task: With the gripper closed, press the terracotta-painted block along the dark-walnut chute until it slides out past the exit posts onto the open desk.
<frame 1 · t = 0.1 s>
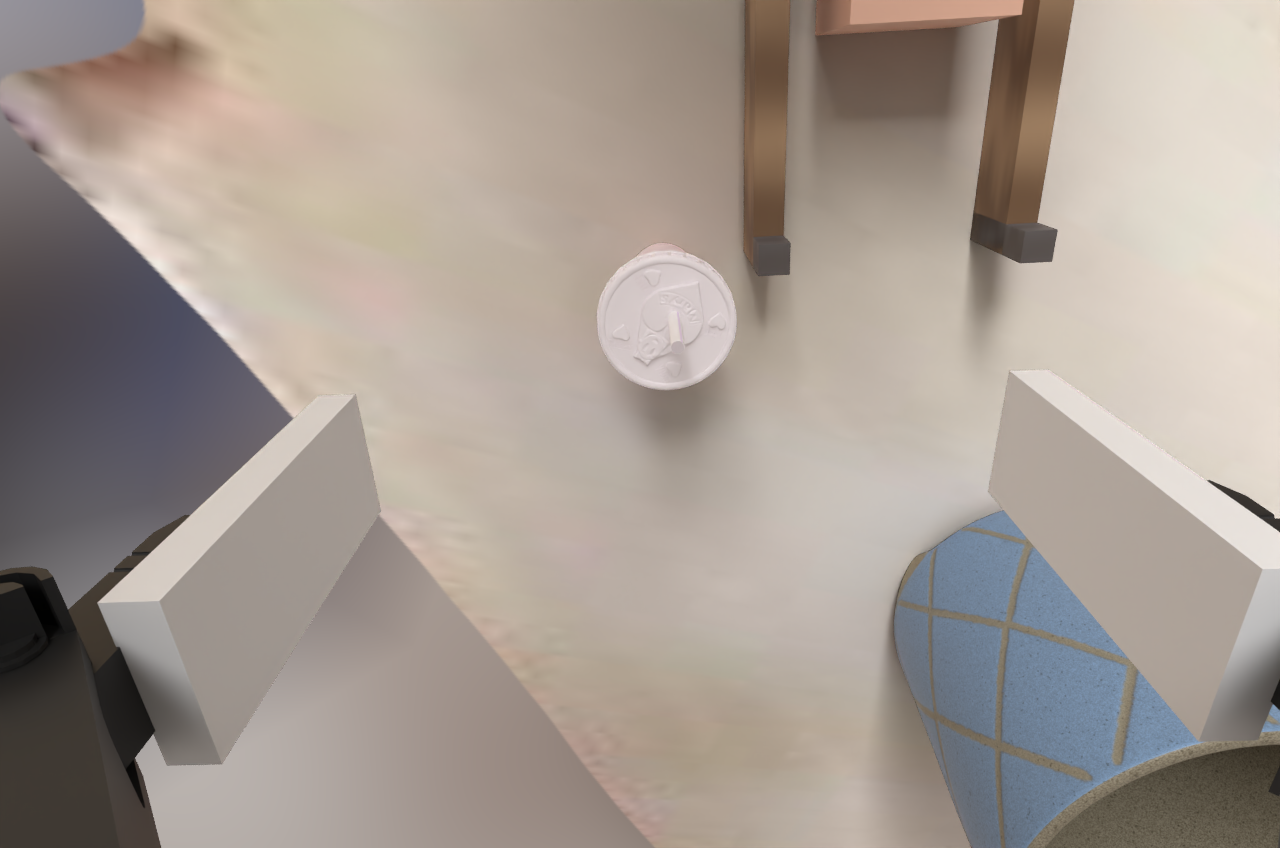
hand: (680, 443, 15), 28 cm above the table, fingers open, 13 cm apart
planter: (1016, 602, 51), on the table
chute: (883, 64, 37), on the table
smoothie: (662, 275, 42), on the table
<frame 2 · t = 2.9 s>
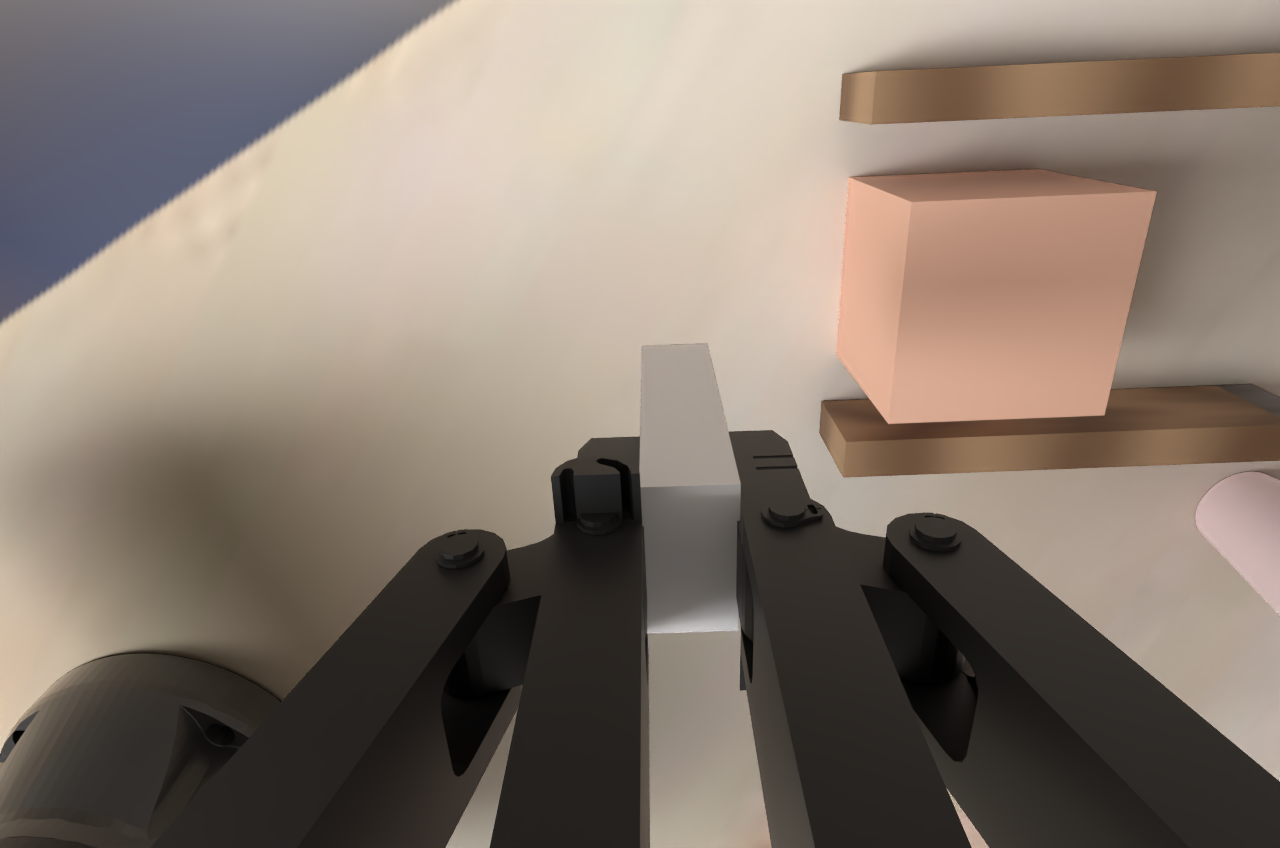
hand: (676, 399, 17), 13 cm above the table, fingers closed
block: (931, 266, 29), on the table
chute: (1060, 261, 29), on the table
smoothie: (1234, 505, 34), on the table
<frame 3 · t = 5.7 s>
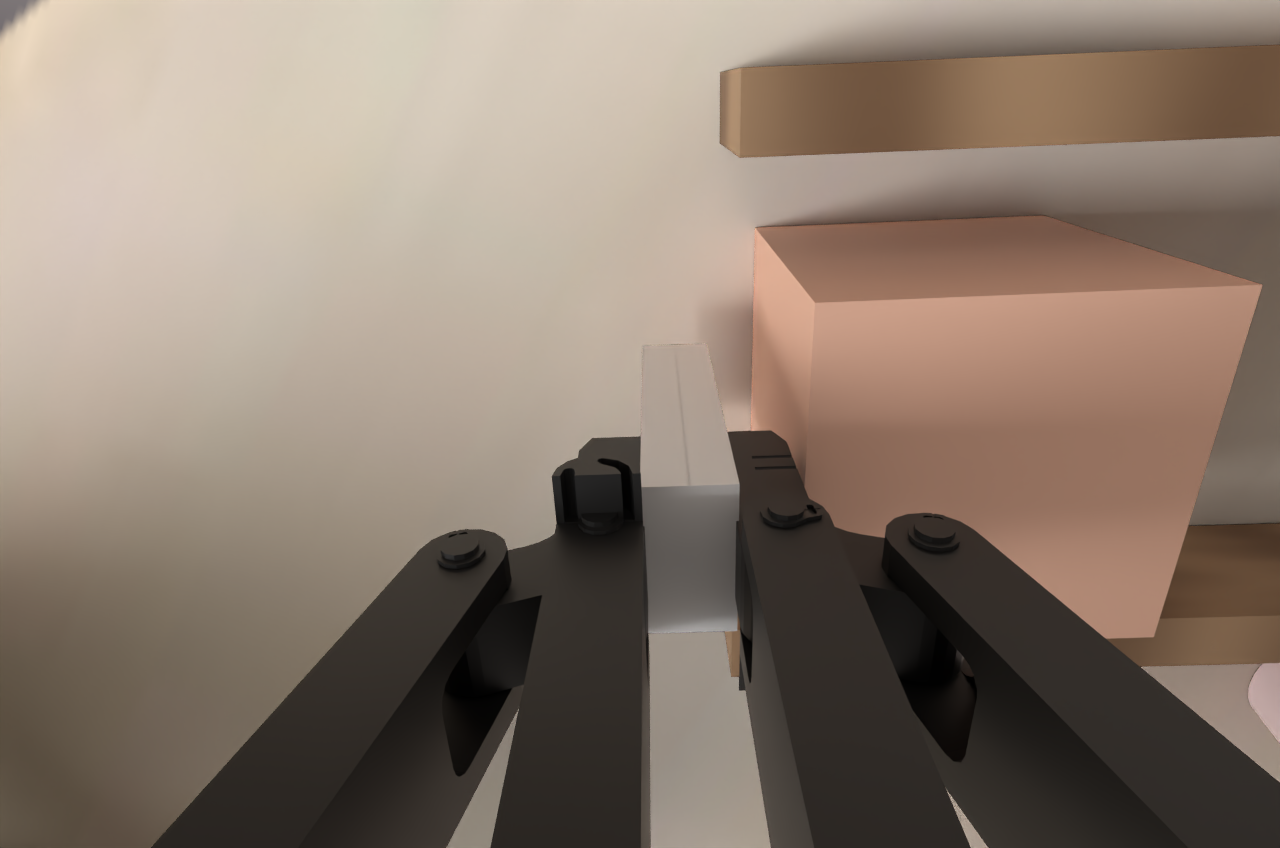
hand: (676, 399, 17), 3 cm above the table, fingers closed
block: (885, 357, 19), on the table, touching gripper
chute: (1061, 352, 19), on the table
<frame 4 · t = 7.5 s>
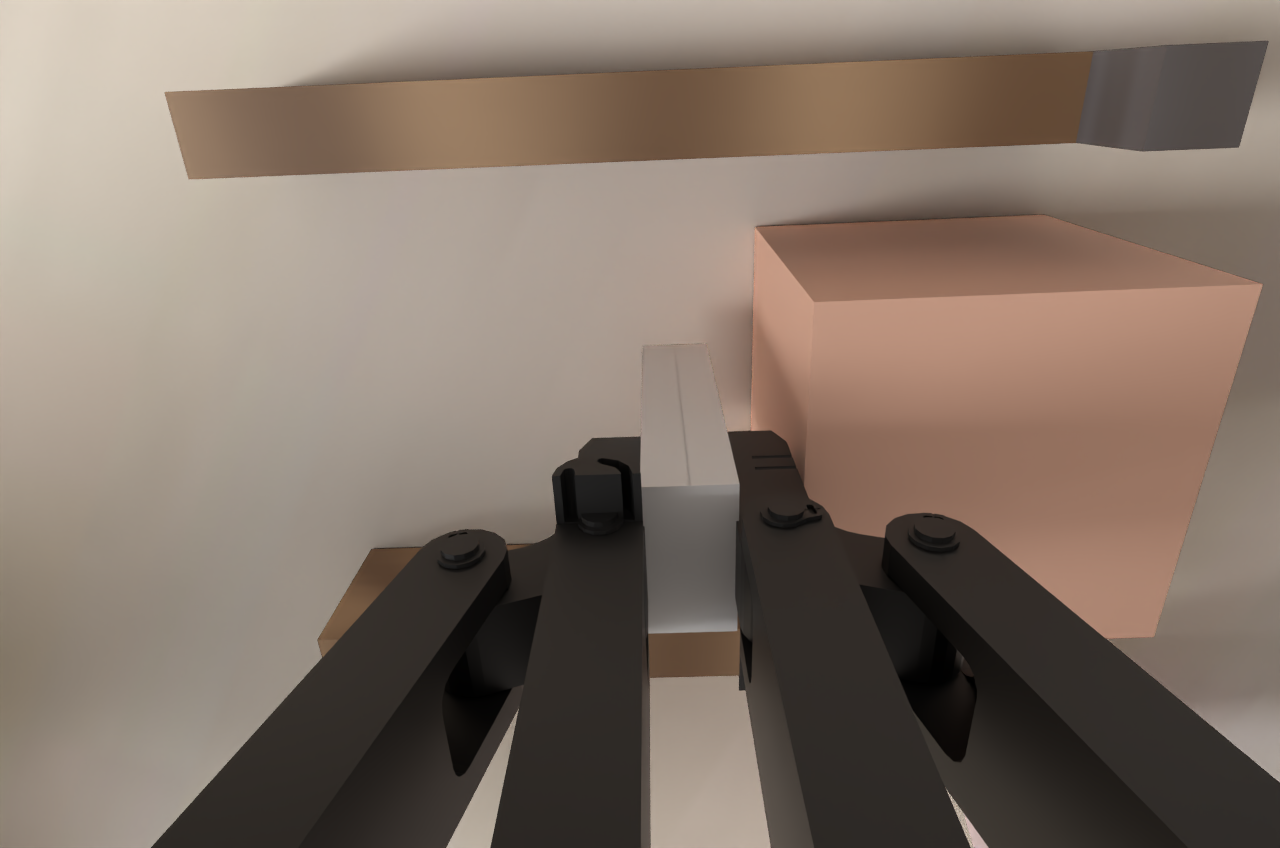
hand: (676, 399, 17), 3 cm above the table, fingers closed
block: (885, 356, 19), on the table, touching gripper
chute: (667, 365, 20), on the table
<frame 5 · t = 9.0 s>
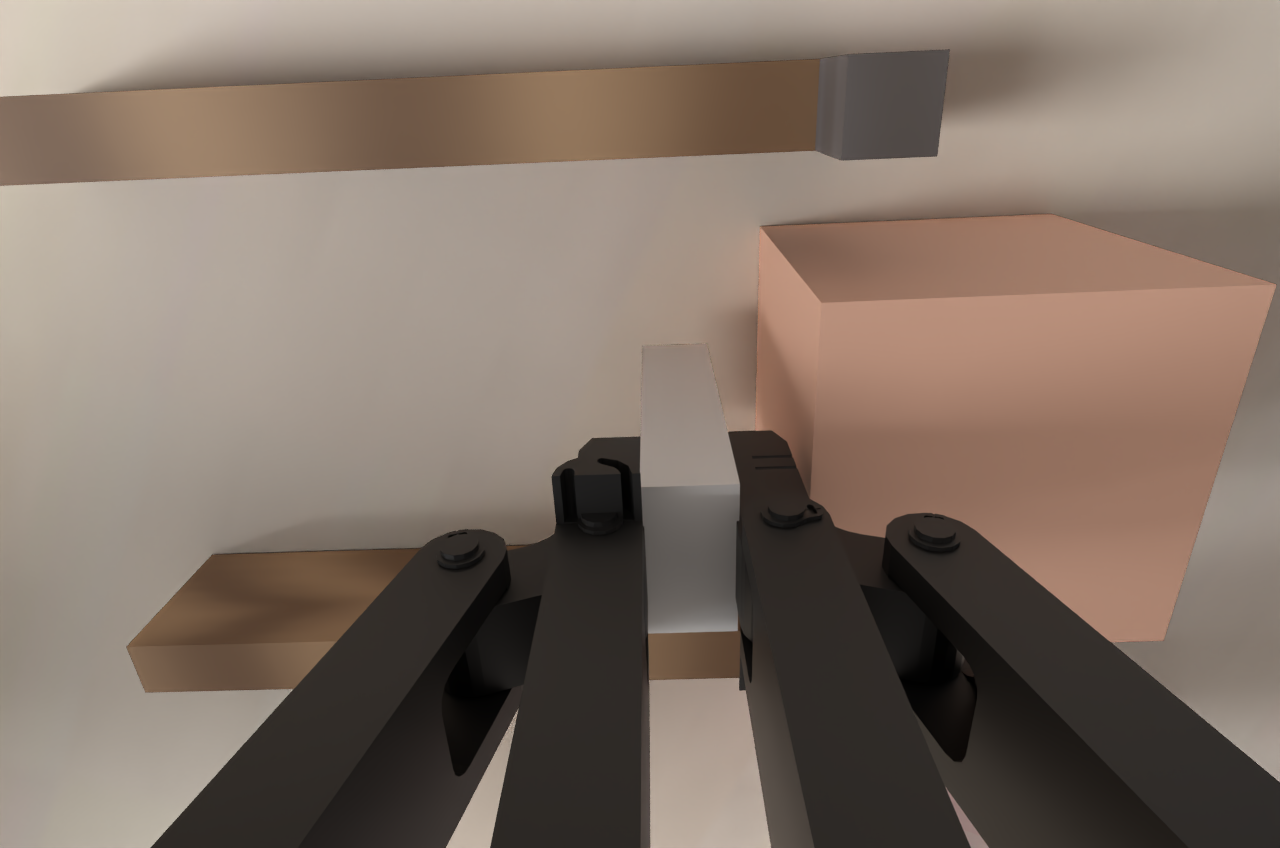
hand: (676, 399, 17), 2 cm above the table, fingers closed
block: (890, 356, 19), on the table, touching gripper
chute: (487, 371, 20), on the table
smoothie: (840, 688, 24), on the table
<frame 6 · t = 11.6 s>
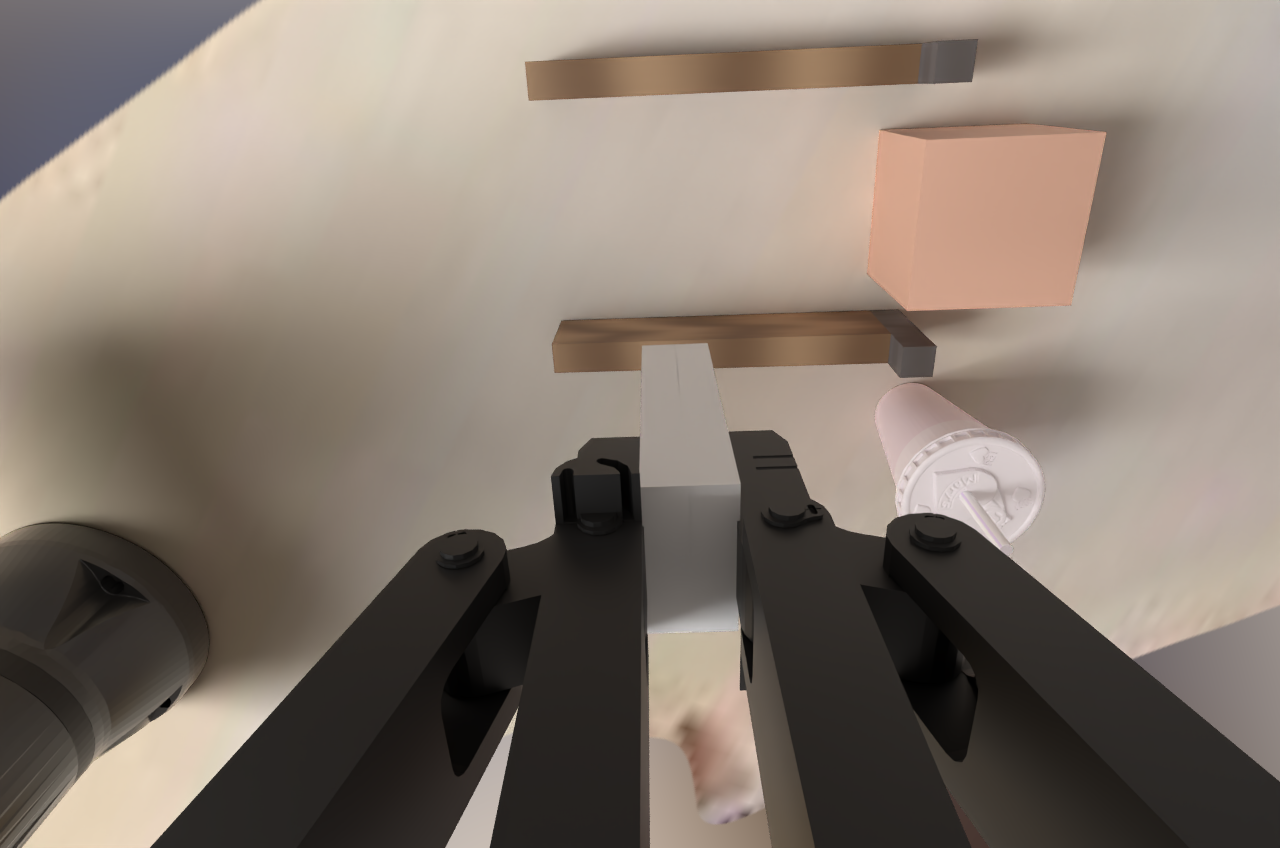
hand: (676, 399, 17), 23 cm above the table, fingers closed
block: (943, 201, 37), on the table
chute: (729, 209, 37), on the table
smoothie: (906, 411, 42), on the table
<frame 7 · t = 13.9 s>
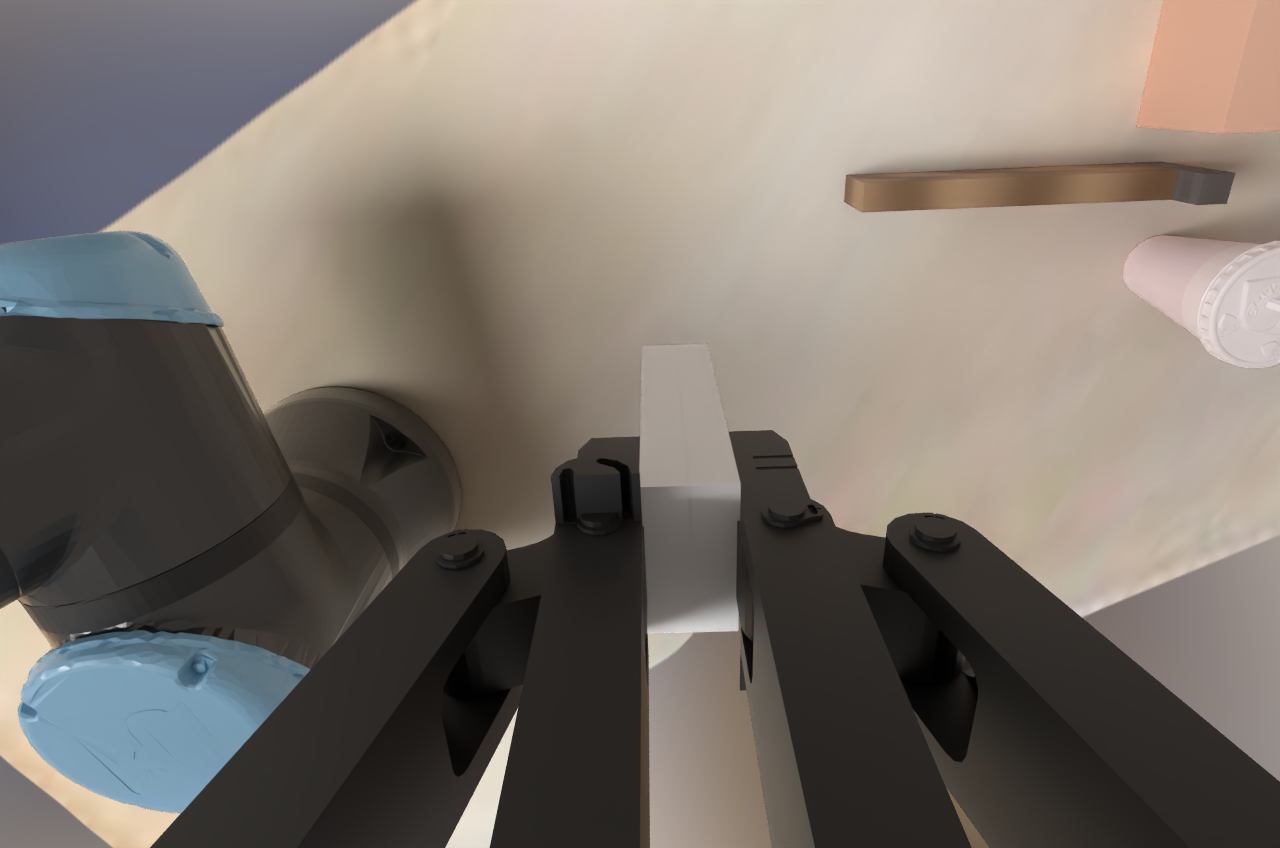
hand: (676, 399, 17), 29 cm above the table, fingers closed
block: (1214, 54, 40), on the table
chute: (1018, 63, 41), on the table
smoothie: (1152, 265, 45), on the table
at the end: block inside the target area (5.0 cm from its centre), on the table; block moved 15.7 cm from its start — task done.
